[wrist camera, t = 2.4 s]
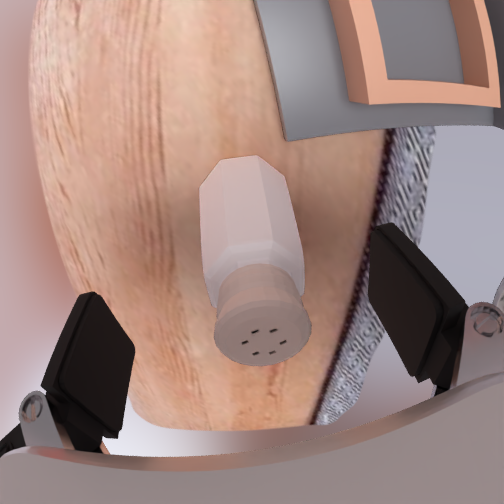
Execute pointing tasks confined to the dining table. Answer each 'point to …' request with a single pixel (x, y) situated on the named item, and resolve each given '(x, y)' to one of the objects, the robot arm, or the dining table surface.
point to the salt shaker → (253, 262)
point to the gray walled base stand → (384, 63)
